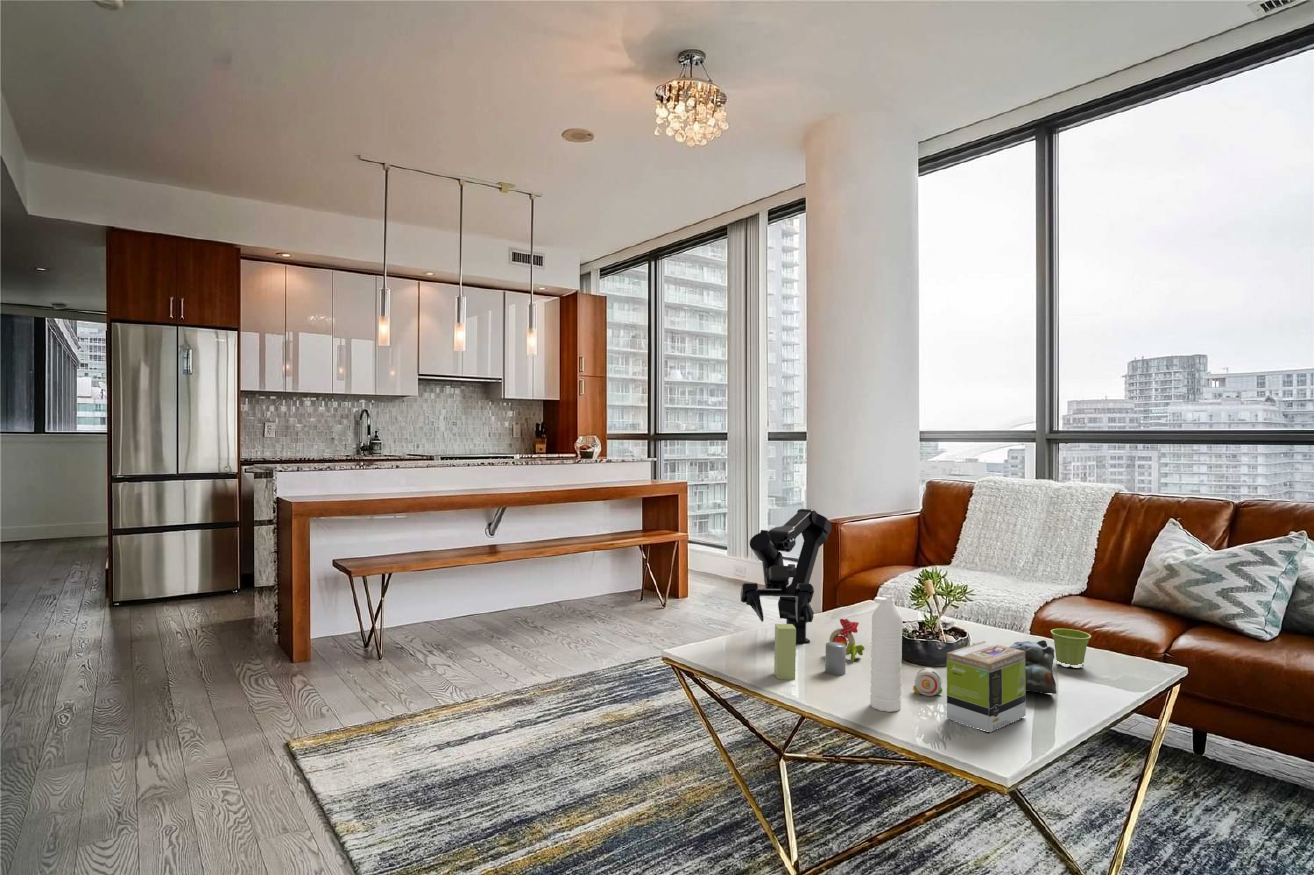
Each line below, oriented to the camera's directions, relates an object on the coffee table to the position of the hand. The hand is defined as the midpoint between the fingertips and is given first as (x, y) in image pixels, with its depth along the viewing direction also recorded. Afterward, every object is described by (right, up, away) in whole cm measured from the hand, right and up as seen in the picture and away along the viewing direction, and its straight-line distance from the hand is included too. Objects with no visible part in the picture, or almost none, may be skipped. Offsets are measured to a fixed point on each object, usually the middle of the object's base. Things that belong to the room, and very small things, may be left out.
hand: (780, 621), depth 193 cm
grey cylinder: (+14, -12, -2) cm, 19 cm away
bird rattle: (+19, -13, +10) cm, 25 cm away
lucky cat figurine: (+55, -14, -14) cm, 59 cm away
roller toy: (+32, -13, -17) cm, 38 cm away
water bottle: (+18, -13, -27) cm, 35 cm away
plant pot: (+78, -14, +7) cm, 80 cm away
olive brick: (0, -12, -6) cm, 14 cm away
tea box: (+39, -13, -32) cm, 52 cm away
